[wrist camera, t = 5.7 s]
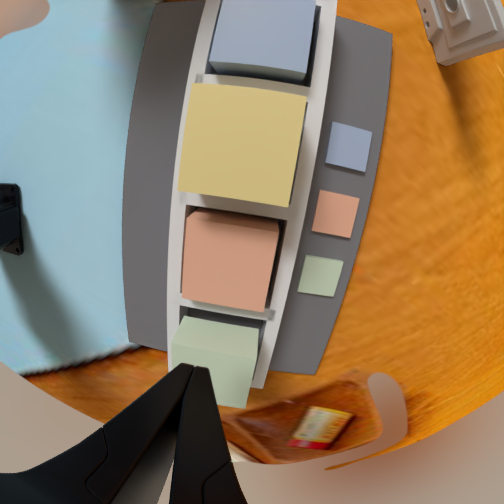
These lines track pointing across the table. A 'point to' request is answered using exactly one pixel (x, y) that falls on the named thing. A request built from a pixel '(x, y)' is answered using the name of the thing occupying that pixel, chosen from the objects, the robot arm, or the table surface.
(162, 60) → the keypad base
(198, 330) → the key sage
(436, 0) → the cassette
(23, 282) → the table surface
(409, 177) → the table surface
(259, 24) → the key slate
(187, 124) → the key ochre
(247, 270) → the key terracotta
